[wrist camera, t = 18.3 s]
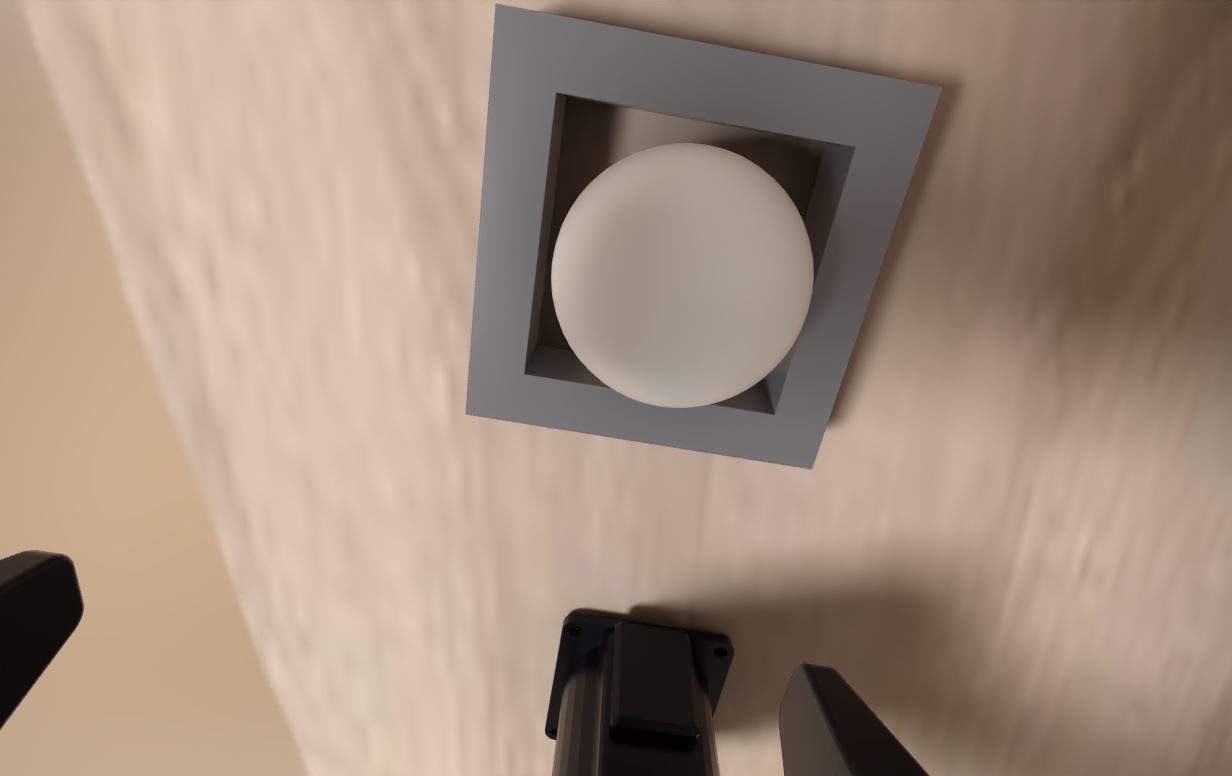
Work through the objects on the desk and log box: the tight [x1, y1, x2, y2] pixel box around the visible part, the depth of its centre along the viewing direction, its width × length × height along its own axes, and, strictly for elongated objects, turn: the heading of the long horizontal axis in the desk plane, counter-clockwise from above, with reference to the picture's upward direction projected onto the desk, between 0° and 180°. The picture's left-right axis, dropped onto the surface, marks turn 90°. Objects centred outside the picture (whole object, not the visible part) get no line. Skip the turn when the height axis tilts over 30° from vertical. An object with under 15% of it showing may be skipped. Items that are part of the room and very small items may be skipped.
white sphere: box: [551, 143, 814, 408], centre depth 14 cm, size 6×6×6 cm
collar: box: [466, 4, 943, 469], centre depth 16 cm, size 10×10×2 cm
